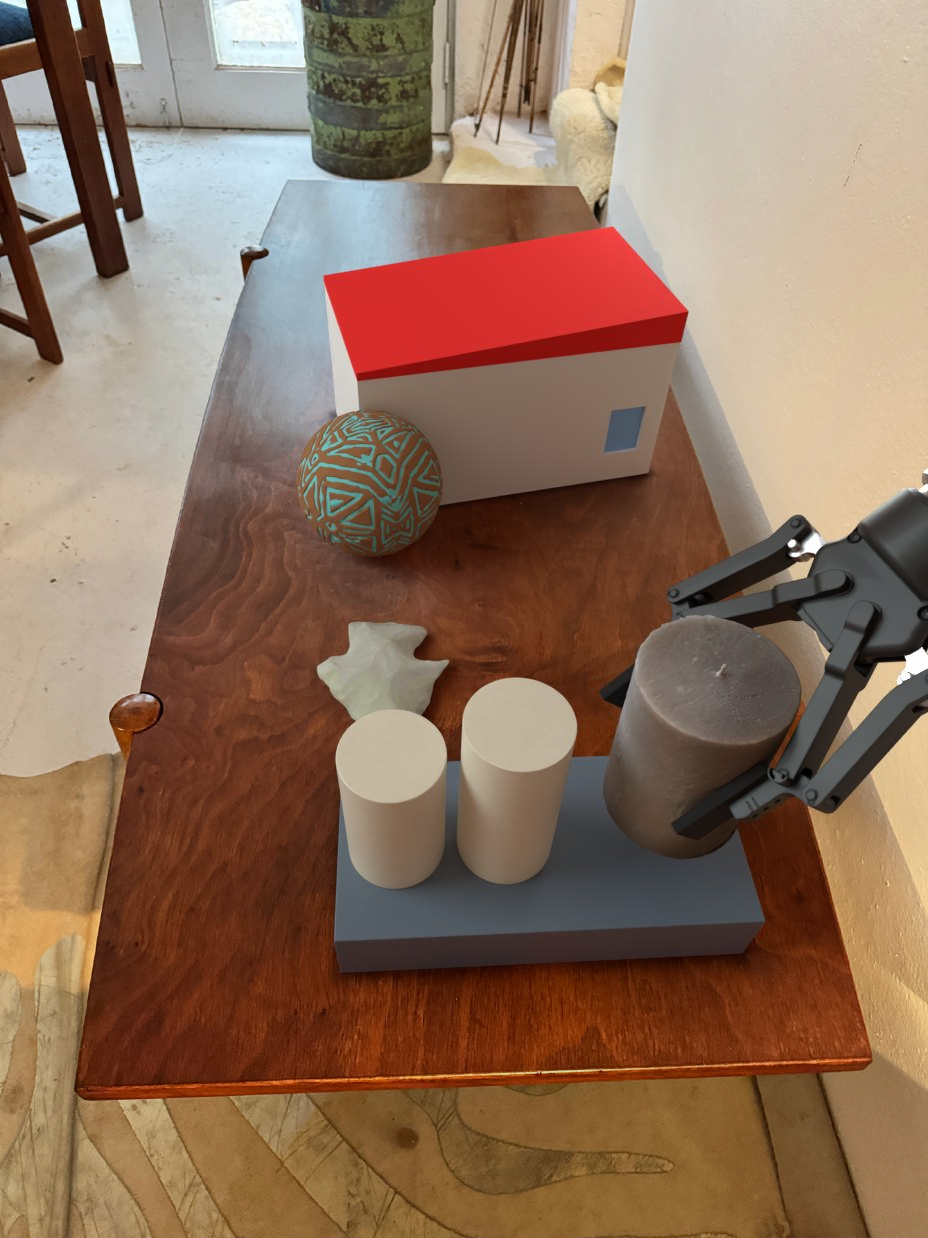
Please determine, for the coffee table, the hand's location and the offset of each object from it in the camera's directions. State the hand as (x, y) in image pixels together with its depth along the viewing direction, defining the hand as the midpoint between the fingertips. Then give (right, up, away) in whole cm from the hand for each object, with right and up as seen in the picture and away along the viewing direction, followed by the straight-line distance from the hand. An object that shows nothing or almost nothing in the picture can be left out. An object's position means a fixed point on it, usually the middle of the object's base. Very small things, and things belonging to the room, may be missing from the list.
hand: (645, 762), depth 54 cm
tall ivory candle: (-9, -7, +8) cm, 14 cm away
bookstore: (-9, +31, +52) cm, 61 cm away
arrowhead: (-19, +2, +25) cm, 32 cm away
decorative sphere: (-22, +18, +39) cm, 48 cm away
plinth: (-6, -11, +13) cm, 18 cm away
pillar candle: (+3, -3, +5) cm, 7 cm away
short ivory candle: (-17, -7, +8) cm, 20 cm away
